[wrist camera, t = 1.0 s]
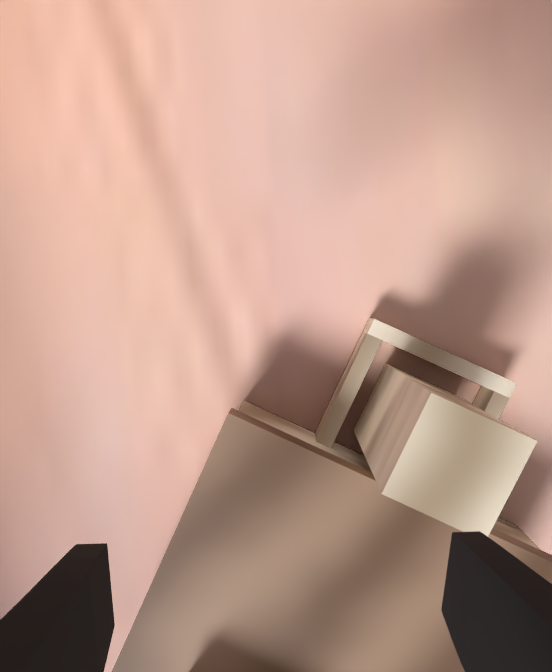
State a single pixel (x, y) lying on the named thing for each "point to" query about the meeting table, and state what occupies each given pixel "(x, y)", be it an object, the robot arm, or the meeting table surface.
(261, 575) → the lid
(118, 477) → the meeting table surface
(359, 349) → the cream rectangular tray
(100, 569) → the robot arm
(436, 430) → the cream rectangular block
